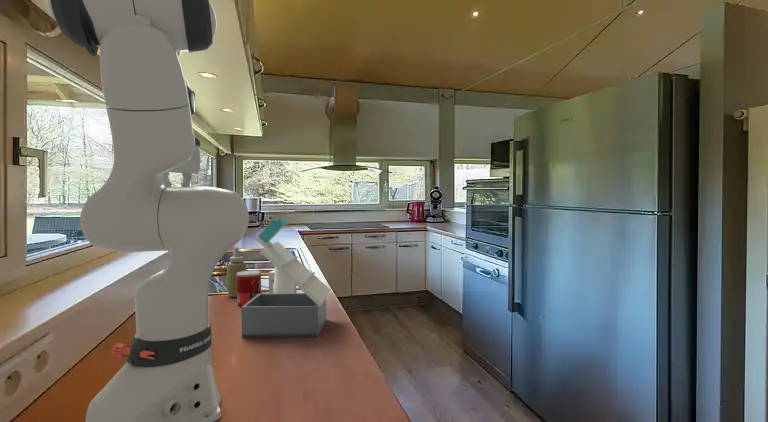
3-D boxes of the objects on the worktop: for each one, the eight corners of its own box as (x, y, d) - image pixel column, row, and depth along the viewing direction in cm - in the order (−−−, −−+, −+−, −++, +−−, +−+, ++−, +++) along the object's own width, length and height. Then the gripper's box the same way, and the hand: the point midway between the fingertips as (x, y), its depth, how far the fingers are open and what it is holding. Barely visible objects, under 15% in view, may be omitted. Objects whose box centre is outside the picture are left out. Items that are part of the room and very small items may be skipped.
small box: (297, 298, 142) (296, 269, 141) (290, 303, 136) (289, 272, 136) (276, 297, 143) (276, 268, 143) (268, 301, 138) (268, 272, 137)
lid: (319, 306, 103) (342, 282, 103) (247, 241, 102) (270, 216, 102) (328, 292, 118) (348, 270, 117) (265, 234, 117) (285, 213, 117)
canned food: (254, 308, 131) (253, 275, 130) (232, 307, 132) (231, 274, 132) (265, 301, 138) (265, 270, 138) (245, 300, 140) (244, 269, 139)
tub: (318, 336, 104) (317, 306, 103) (242, 337, 104) (241, 307, 104) (326, 319, 118) (325, 293, 117) (259, 320, 118) (258, 293, 118)
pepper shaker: (298, 305, 134) (296, 248, 133) (292, 311, 126) (291, 251, 126) (276, 305, 134) (275, 248, 133) (269, 311, 127) (268, 251, 126)
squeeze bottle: (253, 293, 150) (252, 246, 149) (241, 298, 142) (240, 249, 141) (234, 292, 152) (232, 245, 151) (221, 297, 144) (219, 248, 143)
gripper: (164, 131, 96) (166, 188, 97) (204, 142, 116) (205, 189, 117) (138, 132, 96) (140, 189, 97) (182, 142, 117) (184, 189, 117)
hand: (176, 189), depth 107 cm, fingers open, 8 cm apart
